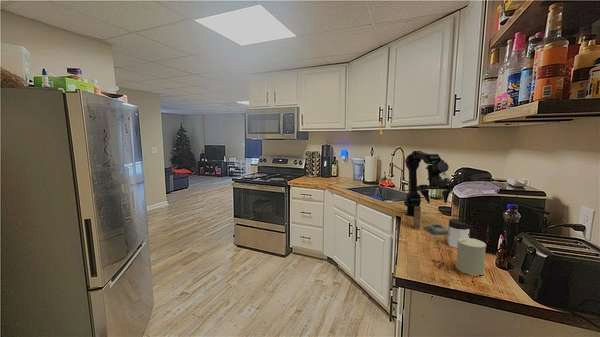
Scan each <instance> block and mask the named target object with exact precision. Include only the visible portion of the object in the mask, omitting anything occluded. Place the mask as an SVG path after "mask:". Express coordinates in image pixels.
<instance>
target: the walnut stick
mask: <svg viewBox="0 0 600 337" xmlns="http://www.w3.org/2000/svg"><path fill="white" fill-rule="evenodd" d="M421 208H422V207H421V205H420V206H414V216H413V230H415V231H420V230H421V212H422V209H421Z"/></svg>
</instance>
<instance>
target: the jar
mask: <svg viewBox="0 0 600 337" xmlns="http://www.w3.org/2000/svg"><path fill="white" fill-rule="evenodd" d="M458 219H459V218H451V219H449V220H448V224H447V231H448V235H447V242H446V243H447V245H448V246H449V247H451V248H455V249H457V246H458V239H459V238H470V228H469V229H468V224H466V223H462V222H460V221H459V220H458ZM468 234H469V235H468Z"/></svg>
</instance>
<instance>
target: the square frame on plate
mask: <svg viewBox="0 0 600 337" xmlns="http://www.w3.org/2000/svg"><path fill="white" fill-rule="evenodd" d="M423 229H424V230H425V231H427V232H428V233H429V234H431V235H432V236H442V235H443V236H448V229H447V227H445V226H443V225H442V224H439V223H429V224H428V226H423Z"/></svg>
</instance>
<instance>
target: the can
mask: <svg viewBox="0 0 600 337" xmlns="http://www.w3.org/2000/svg"><path fill="white" fill-rule="evenodd" d="M486 249H487V244H486V243H485V242H484V241H483V240H481V239H480V240H479V239H477V238H471V237H469V238H459V239H458V246H457V248H456V251H457V252H456V261H455V262H456V264H455V269H456V268H457V269H458V270H459V271H458V270H457V269H456V270H457V271H458V272H460V271H461V272H464V273H467V274H471V275H483V274H484V275H485V259H486ZM461 272H460V273H461ZM464 273H463V274H464ZM484 275H483V276H484Z"/></svg>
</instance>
